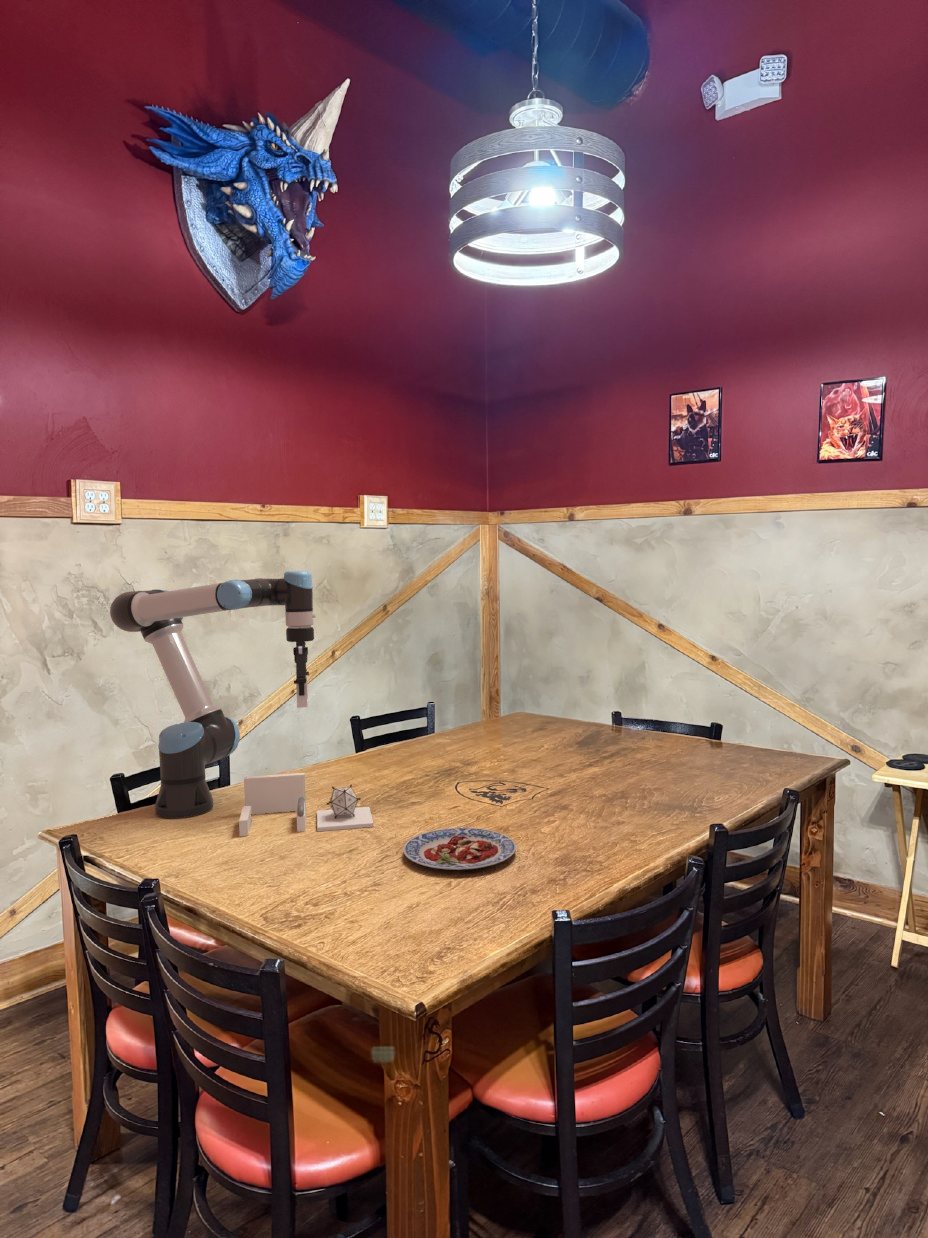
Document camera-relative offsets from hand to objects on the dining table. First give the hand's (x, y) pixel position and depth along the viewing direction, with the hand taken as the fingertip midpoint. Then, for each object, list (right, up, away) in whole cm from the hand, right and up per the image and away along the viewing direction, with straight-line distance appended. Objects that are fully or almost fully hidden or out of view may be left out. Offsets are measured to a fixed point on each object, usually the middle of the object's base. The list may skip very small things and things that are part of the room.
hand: (302, 703), depth 219 cm
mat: (+14, -29, -13) cm, 35 cm away
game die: (+13, -29, -12) cm, 34 cm away
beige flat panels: (-5, -30, -13) cm, 33 cm away
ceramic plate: (+44, -31, -38) cm, 66 cm away
